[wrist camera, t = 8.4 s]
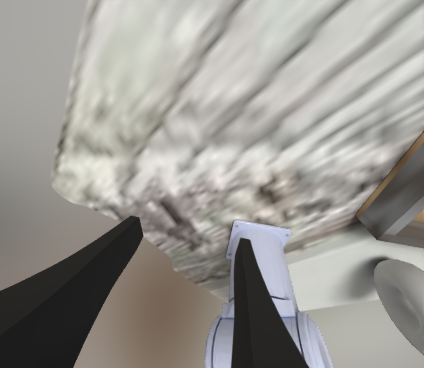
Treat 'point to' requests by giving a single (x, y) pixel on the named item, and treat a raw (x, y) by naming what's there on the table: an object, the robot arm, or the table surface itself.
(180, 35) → the table surface
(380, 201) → the tray
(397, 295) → the donut
